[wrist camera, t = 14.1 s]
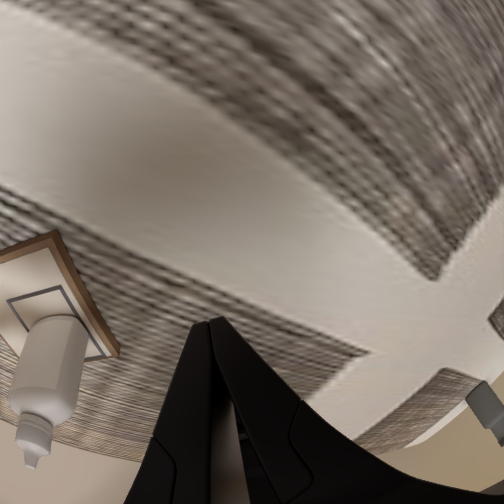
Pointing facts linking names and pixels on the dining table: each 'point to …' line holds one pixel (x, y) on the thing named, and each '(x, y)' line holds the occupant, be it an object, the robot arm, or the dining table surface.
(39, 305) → the board
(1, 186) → the dining table surface
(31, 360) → the eye dropper bottle
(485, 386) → the water bottle
